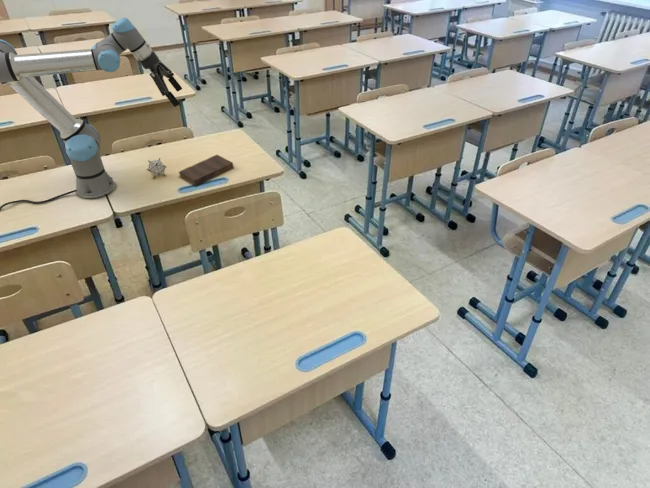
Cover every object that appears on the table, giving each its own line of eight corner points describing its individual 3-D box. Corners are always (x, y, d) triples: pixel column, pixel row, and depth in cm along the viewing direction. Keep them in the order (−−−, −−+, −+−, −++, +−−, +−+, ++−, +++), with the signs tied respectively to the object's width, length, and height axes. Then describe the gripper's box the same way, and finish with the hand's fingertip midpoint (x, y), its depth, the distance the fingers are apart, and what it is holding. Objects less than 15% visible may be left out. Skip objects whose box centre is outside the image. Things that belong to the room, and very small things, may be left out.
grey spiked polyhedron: (163, 184, 211) (162, 175, 202) (144, 178, 209) (143, 168, 200) (169, 167, 214) (169, 158, 205) (151, 161, 212) (150, 151, 203)
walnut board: (195, 186, 203) (194, 180, 201) (179, 176, 209) (178, 171, 207) (233, 168, 216) (232, 162, 214) (217, 159, 222) (216, 154, 220)
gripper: (149, 65, 178) (183, 107, 192) (156, 39, 195) (187, 80, 209) (133, 73, 179) (169, 115, 194) (142, 47, 196) (174, 87, 211)
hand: (178, 97), depth 202 cm, fingers open, 13 cm apart
